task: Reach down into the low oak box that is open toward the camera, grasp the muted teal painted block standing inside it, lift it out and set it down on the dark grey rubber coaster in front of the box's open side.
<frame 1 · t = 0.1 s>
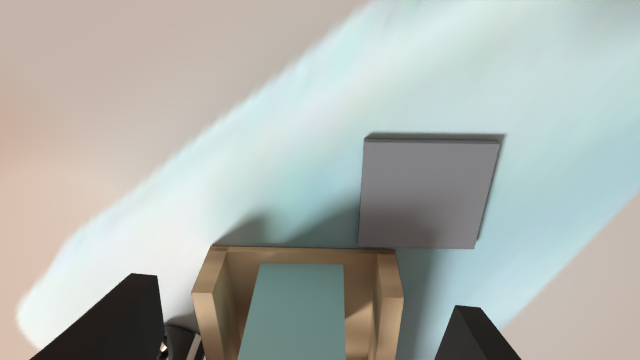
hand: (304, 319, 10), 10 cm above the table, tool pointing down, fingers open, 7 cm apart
crate: (304, 317, 24), on the table
block: (302, 293, 23), resting on crate
coaster: (421, 195, 20), on the table
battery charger: (163, 347, 27), on the table
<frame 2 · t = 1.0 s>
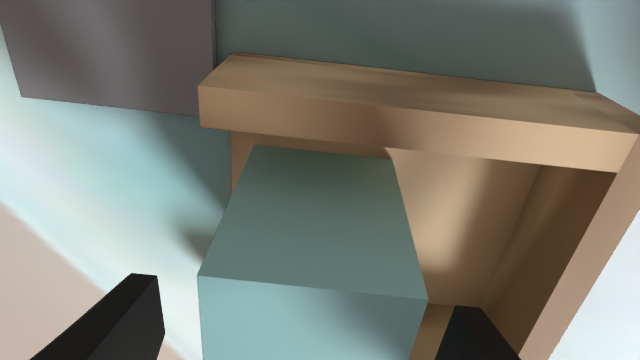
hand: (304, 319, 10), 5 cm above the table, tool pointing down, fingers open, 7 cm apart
crate: (386, 210, 14), on the table
block: (316, 208, 14), resting on crate
coaster: (108, 1, 11), on the table
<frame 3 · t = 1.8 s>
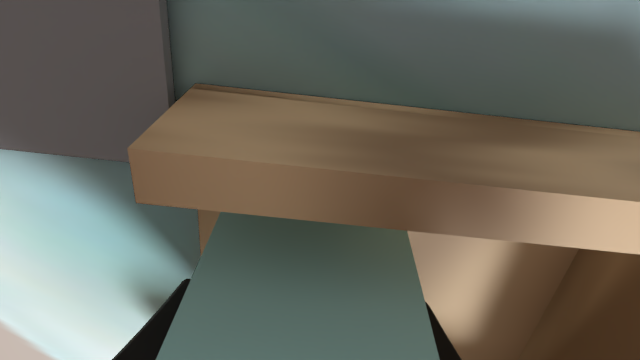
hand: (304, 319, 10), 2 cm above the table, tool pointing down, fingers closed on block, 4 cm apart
crate: (394, 272, 12), on the table
block: (307, 273, 11), resting on crate, touching gripper
coaster: (27, 18, 8), on the table
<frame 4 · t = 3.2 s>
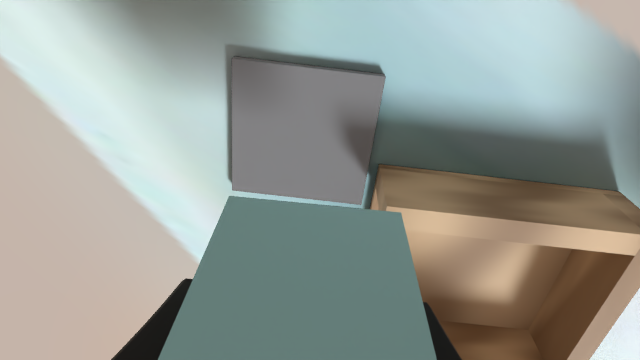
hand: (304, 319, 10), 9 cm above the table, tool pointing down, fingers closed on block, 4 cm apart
crate: (467, 261, 20), on the table
block: (308, 268, 12), point 7 cm above the table, touching gripper
coaster: (303, 134, 17), on the table
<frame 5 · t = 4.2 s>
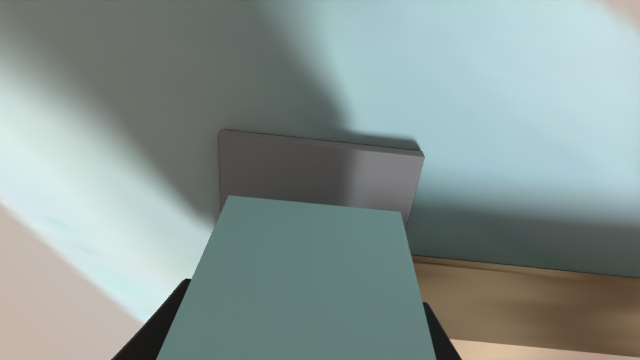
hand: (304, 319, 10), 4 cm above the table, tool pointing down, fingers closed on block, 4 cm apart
block: (308, 268, 12), point 2 cm above the table, touching gripper
coaster: (313, 221, 13), on the table
when the fingers open (4 cm above the table, at t = 4.8 s): block drops 1 cm, resting on coaster.
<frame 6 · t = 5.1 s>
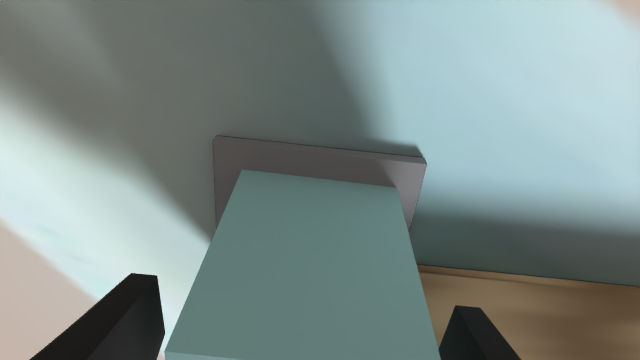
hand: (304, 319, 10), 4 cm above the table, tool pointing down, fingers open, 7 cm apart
block: (311, 239, 13), resting on coaster
coaster: (311, 230, 13), on the table
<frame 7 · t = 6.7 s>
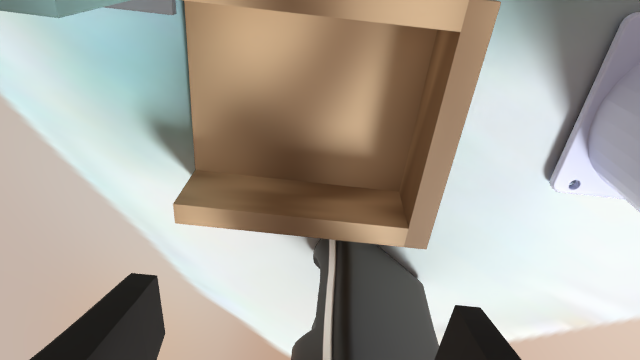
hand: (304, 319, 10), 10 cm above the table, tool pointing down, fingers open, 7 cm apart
crate: (316, 100, 18), on the table
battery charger: (361, 265, 23), on the table
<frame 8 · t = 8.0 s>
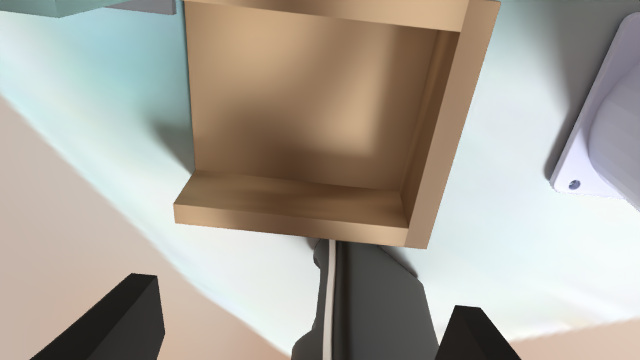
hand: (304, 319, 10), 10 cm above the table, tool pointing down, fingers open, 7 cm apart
crate: (316, 100, 18), on the table
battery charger: (361, 265, 23), on the table
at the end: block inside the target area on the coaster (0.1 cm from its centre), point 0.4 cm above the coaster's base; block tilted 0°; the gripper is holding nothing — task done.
